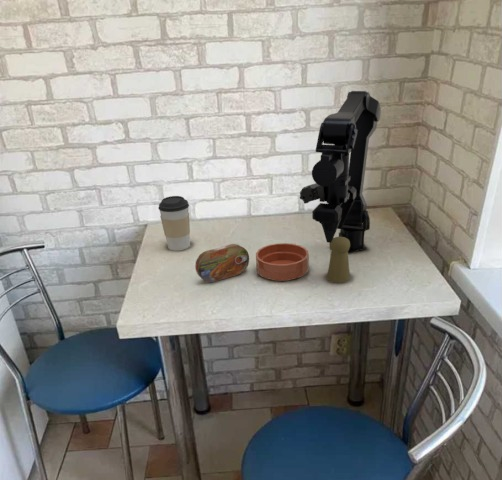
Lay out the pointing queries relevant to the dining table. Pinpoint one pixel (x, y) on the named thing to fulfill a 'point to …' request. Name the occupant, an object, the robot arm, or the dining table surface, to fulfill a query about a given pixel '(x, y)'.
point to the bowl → (282, 261)
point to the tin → (222, 262)
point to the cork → (339, 260)
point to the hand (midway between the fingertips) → (334, 235)
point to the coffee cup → (175, 222)
